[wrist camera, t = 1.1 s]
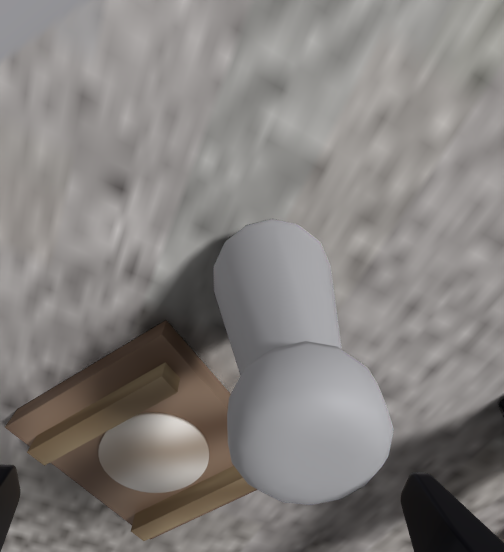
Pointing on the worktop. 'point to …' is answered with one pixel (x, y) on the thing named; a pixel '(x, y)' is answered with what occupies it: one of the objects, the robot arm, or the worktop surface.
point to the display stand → (140, 433)
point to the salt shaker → (295, 371)
